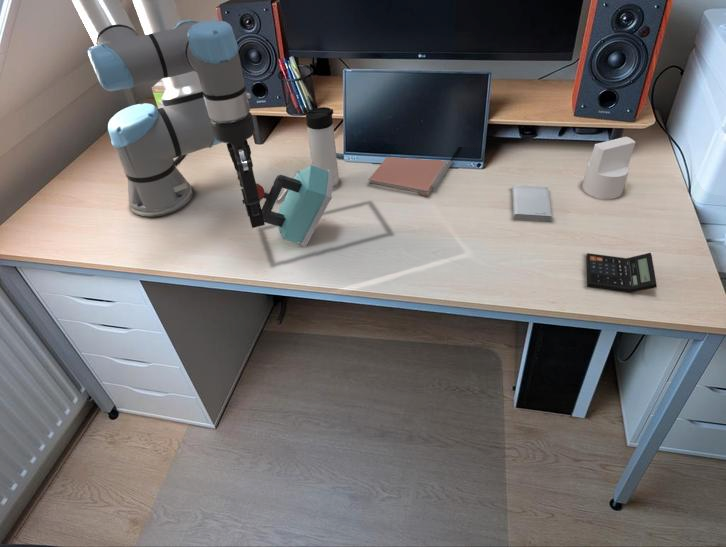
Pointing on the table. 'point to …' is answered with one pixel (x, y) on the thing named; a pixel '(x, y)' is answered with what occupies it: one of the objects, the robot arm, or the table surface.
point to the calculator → (620, 272)
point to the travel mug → (322, 140)
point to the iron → (298, 202)
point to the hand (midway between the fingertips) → (256, 219)
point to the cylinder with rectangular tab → (608, 168)
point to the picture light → (283, 192)
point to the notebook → (411, 174)
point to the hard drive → (531, 203)
